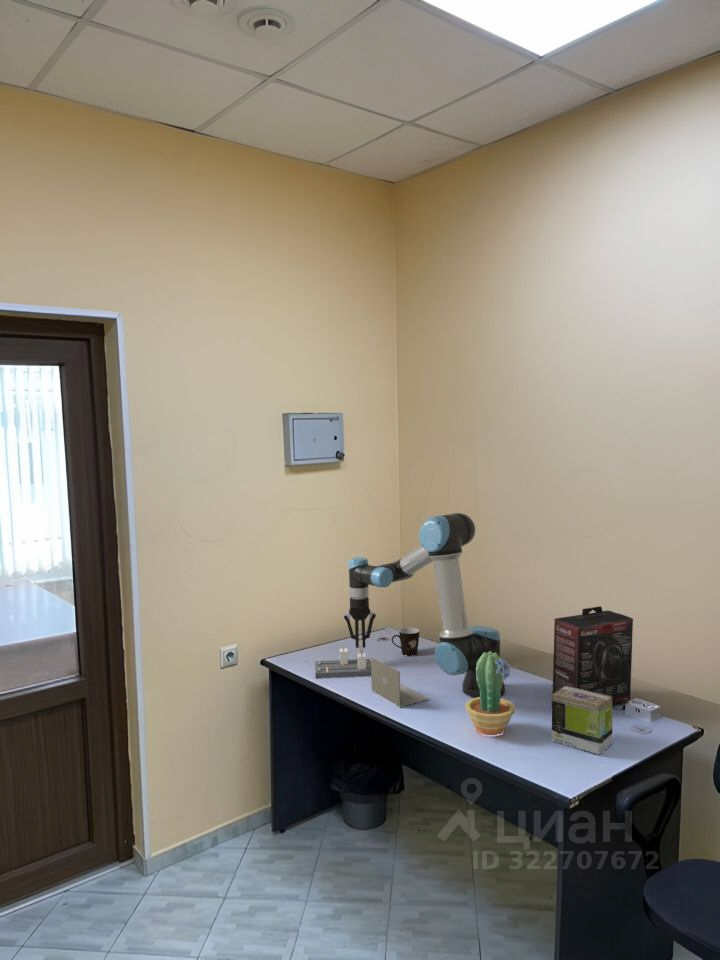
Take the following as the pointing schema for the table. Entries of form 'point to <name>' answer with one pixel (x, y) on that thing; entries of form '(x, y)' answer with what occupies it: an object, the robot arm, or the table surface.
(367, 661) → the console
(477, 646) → the robot arm
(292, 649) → the table surface
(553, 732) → the tea box
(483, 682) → the potted cactus
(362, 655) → the fader
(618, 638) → the headset box
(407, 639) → the coffee mug
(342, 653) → the fader
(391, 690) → the laptop
